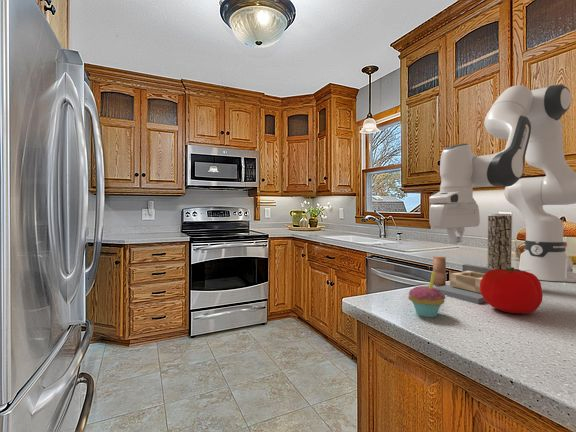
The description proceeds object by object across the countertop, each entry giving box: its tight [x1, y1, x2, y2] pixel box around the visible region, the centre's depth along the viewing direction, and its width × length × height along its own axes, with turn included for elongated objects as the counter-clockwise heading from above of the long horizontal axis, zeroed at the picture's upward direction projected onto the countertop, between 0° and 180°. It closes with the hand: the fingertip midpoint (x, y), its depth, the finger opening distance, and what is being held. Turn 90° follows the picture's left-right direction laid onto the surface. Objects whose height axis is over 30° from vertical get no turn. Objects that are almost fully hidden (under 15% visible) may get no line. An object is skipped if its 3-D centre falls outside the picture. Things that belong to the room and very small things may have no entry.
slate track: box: [434, 263, 494, 305], centre depth 97 cm, size 18×14×8 cm
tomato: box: [480, 266, 544, 314], centre depth 81 cm, size 12×13×12 cm
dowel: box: [432, 255, 447, 287], centre depth 108 cm, size 4×4×10 cm
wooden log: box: [487, 213, 513, 269], centre depth 107 cm, size 7×7×25 cm
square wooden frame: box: [449, 270, 485, 293], centre depth 98 cm, size 10×10×4 cm
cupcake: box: [407, 269, 446, 318], centre depth 79 cm, size 9×8×12 cm
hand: (455, 242), depth 95 cm, fingers closed
